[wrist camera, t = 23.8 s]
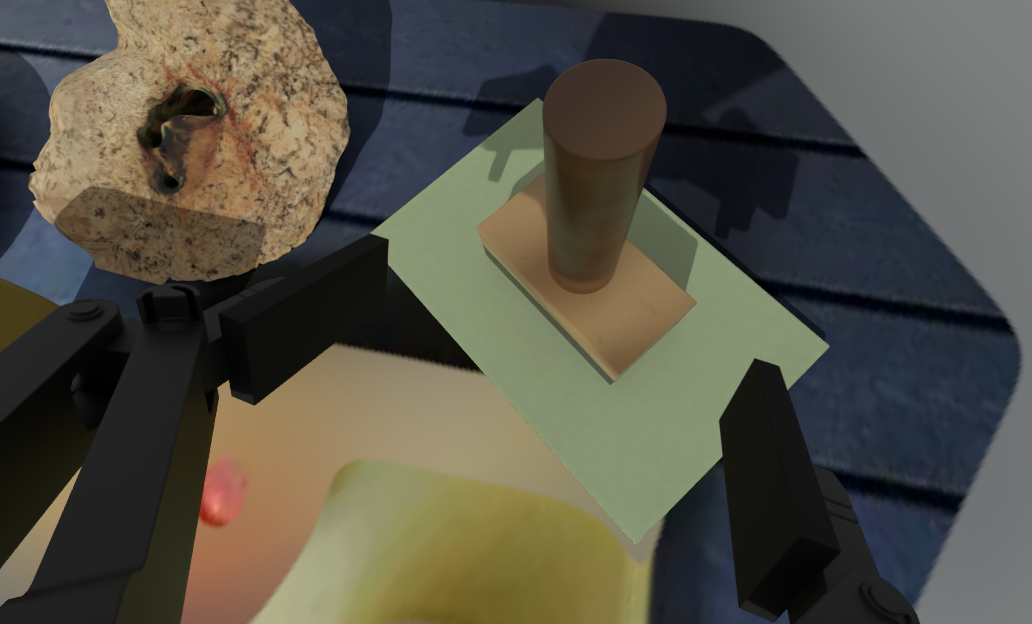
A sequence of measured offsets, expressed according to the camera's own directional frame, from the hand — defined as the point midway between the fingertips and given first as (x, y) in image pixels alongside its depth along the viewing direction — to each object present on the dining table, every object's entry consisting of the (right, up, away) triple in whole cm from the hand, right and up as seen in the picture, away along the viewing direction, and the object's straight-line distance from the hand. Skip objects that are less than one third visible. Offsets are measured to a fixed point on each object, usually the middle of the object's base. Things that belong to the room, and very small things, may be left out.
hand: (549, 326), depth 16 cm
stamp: (+2, +2, +9) cm, 10 cm away
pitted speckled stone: (-19, +9, +14) cm, 25 cm away
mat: (+2, +2, +10) cm, 10 cm away
